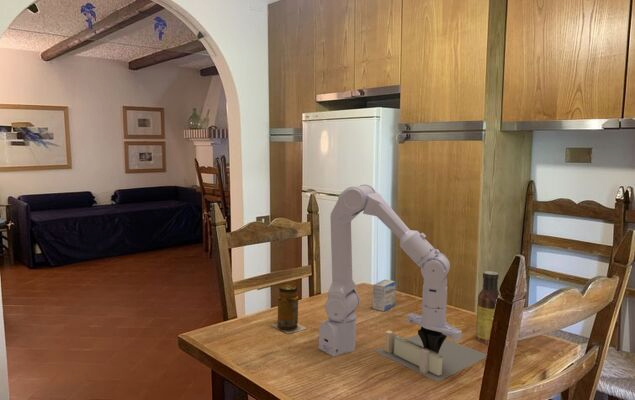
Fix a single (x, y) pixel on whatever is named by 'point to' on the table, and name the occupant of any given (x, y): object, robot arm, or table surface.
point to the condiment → (288, 310)
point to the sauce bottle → (486, 306)
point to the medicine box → (384, 295)
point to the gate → (416, 354)
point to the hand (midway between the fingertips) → (431, 358)
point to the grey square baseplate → (452, 352)
